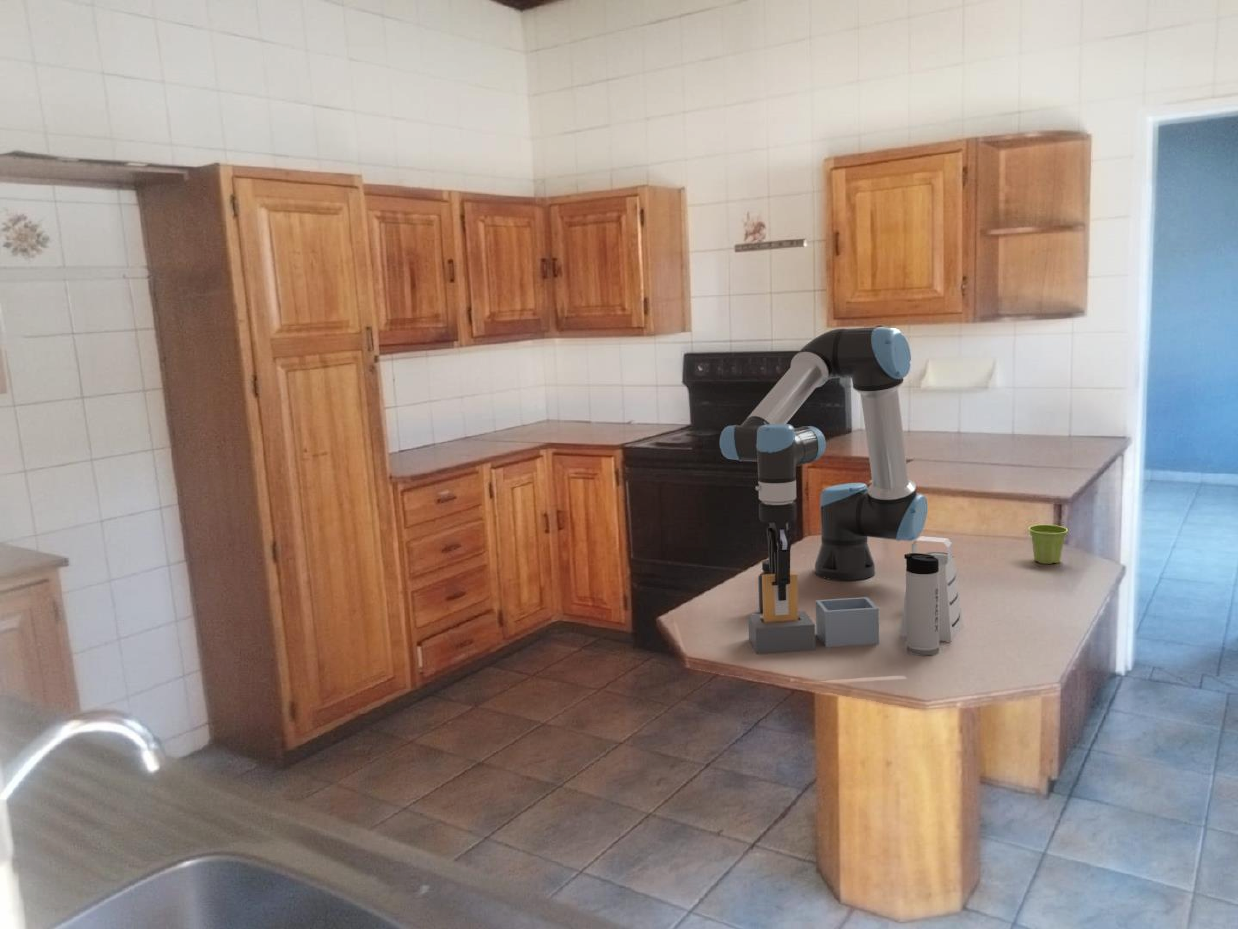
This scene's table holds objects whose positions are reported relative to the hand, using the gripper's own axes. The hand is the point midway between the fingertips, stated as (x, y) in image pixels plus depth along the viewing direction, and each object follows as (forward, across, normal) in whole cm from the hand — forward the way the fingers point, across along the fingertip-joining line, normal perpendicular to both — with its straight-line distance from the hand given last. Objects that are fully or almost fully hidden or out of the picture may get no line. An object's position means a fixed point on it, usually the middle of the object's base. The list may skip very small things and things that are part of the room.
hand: (780, 612), depth 201 cm
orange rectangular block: (+7, 0, 0) cm, 7 cm away
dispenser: (+7, 0, 0) cm, 7 cm away
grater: (+8, -4, +33) cm, 34 cm away
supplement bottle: (+8, -23, +3) cm, 24 cm away
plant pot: (+8, -50, +80) cm, 95 cm away
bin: (+7, -1, +14) cm, 16 cm away
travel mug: (+8, +7, +27) cm, 29 cm away
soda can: (+8, -20, +40) cm, 45 cm away
